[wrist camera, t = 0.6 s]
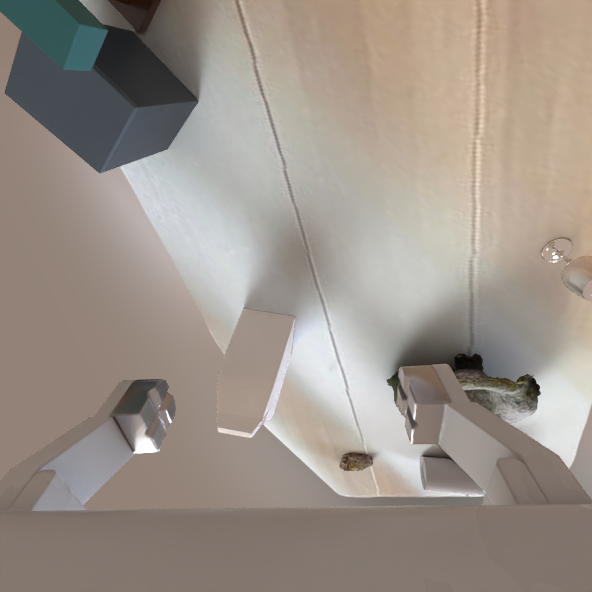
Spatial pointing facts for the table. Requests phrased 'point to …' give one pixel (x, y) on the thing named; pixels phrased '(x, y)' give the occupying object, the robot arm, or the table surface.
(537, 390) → the mossy grey boulder
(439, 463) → the bent grey cylinder
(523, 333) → the table surface
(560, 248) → the wineglass
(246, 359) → the milk
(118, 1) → the walnut stand
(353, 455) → the mineral rock
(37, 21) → the teal block
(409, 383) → the robot arm
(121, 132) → the slate crate
